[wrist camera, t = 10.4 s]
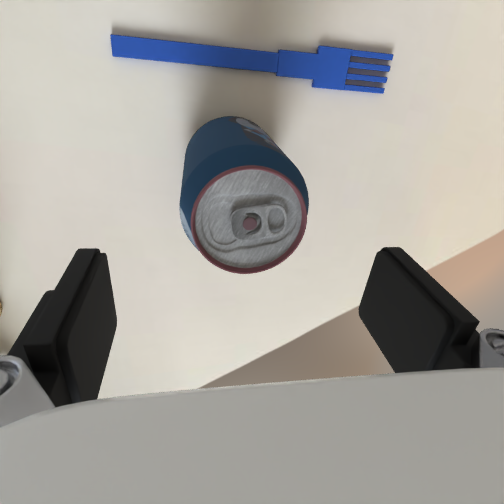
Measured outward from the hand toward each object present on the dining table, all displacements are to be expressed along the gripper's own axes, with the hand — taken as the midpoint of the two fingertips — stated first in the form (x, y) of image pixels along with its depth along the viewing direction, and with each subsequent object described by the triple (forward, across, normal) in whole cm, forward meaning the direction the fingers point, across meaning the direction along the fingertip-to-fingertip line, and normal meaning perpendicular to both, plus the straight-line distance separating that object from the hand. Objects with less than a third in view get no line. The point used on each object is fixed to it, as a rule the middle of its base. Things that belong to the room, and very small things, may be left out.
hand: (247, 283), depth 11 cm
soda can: (+17, -1, 0) cm, 17 cm away
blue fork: (+17, -3, -7) cm, 19 cm away
